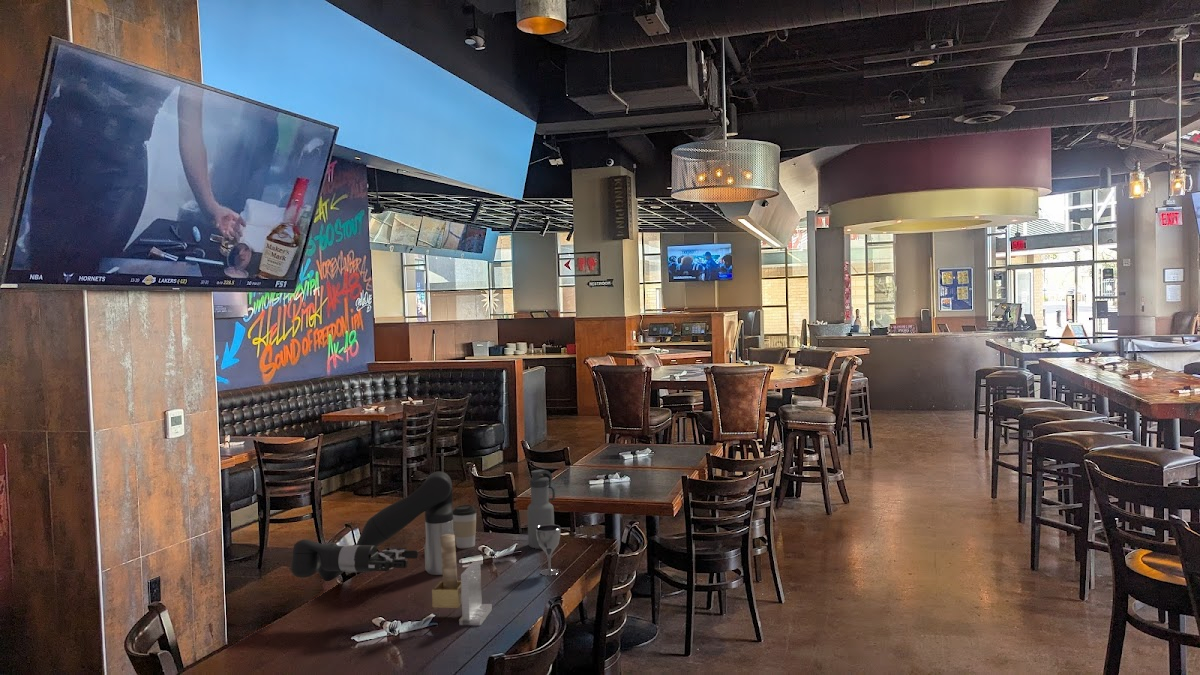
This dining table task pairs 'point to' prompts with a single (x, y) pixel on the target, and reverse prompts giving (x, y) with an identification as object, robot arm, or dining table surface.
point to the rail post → (449, 561)
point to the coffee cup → (465, 525)
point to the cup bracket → (464, 596)
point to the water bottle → (539, 504)
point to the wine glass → (548, 544)
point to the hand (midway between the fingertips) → (412, 558)
